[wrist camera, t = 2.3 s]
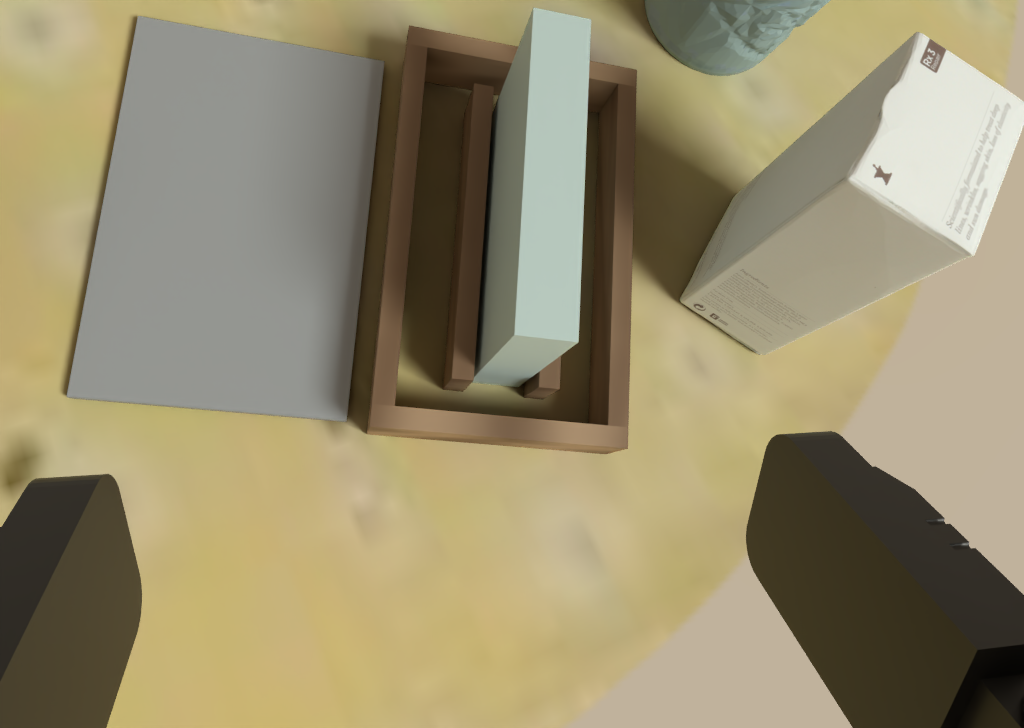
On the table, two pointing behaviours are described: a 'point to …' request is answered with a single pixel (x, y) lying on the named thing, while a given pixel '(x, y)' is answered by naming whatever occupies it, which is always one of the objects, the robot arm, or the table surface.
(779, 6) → the grey-green cup
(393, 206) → the walnut box
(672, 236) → the table surface
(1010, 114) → the skincare box
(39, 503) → the robot arm
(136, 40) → the grey mat
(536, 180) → the cover plate
